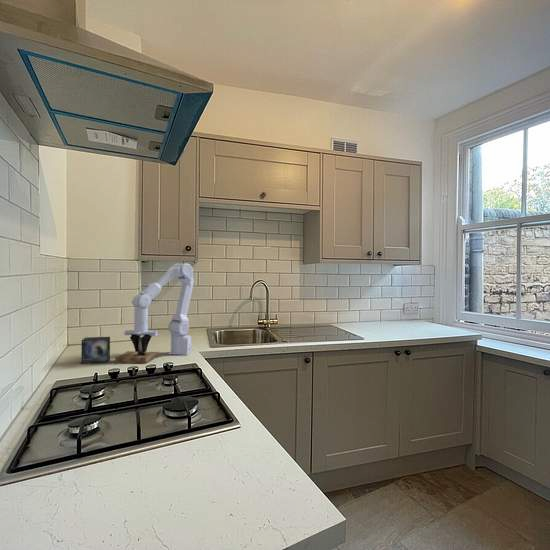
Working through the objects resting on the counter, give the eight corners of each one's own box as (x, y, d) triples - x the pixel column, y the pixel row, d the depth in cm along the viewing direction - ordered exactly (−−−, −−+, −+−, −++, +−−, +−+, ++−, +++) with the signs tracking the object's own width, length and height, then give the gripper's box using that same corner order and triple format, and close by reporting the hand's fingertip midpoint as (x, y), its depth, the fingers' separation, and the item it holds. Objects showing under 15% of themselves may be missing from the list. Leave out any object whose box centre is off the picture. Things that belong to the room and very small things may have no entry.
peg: (145, 357, 158) (145, 337, 158) (143, 358, 155) (143, 338, 155) (138, 357, 158) (138, 337, 158) (136, 358, 155) (136, 338, 155)
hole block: (156, 357, 162) (156, 352, 162) (146, 363, 151) (146, 357, 151) (127, 356, 163) (127, 351, 163) (115, 362, 152) (115, 356, 152)
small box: (80, 364, 148) (80, 340, 148) (84, 360, 155) (84, 337, 154) (107, 363, 151) (107, 339, 151) (110, 359, 157) (110, 336, 157)
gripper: (121, 322, 153) (120, 353, 153) (153, 322, 152) (152, 353, 152) (128, 320, 160) (128, 349, 160) (159, 320, 159) (159, 350, 159)
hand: (140, 351), depth 157 cm, fingers closed on peg, 3 cm apart
